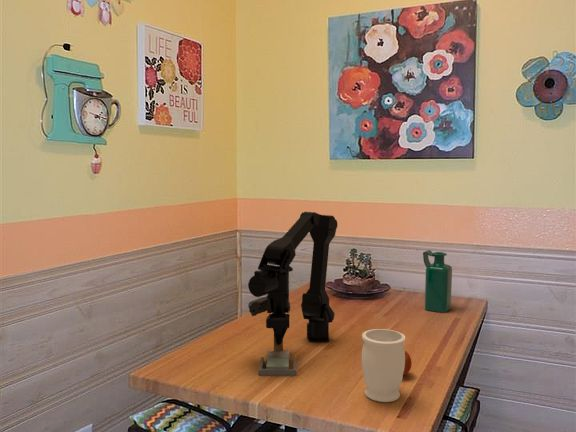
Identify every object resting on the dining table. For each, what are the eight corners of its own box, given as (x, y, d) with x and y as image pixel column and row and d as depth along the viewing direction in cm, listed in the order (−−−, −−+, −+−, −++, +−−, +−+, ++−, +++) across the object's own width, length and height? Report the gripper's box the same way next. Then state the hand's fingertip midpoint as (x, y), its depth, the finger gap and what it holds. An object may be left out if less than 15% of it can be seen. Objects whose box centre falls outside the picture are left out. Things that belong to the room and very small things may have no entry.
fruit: (379, 372, 143) (380, 343, 142) (401, 368, 146) (401, 340, 145) (394, 382, 137) (395, 352, 136) (416, 377, 140) (417, 348, 139)
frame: (296, 362, 150) (296, 357, 150) (296, 375, 141) (296, 370, 141) (260, 362, 150) (260, 356, 150) (258, 375, 141) (258, 370, 141)
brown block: (289, 356, 153) (289, 327, 152) (289, 362, 150) (289, 333, 148) (267, 356, 154) (267, 327, 152) (266, 362, 150) (266, 333, 148)
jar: (356, 386, 135) (357, 328, 133) (396, 385, 135) (398, 327, 134) (366, 406, 124) (367, 343, 122) (409, 404, 125) (411, 342, 123)
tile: (288, 364, 149) (288, 358, 149) (288, 373, 144) (288, 366, 143) (267, 364, 150) (267, 357, 149) (266, 373, 144) (266, 366, 143)
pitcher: (451, 308, 204) (454, 251, 201) (445, 313, 196) (447, 255, 194) (426, 304, 209) (428, 249, 206) (419, 309, 202) (421, 252, 199)
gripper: (252, 281, 159) (253, 331, 160) (246, 297, 140) (247, 354, 142) (290, 281, 158) (290, 332, 160) (289, 298, 140) (289, 355, 142)
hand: (278, 342), depth 151 cm, fingers closed on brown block, 3 cm apart
